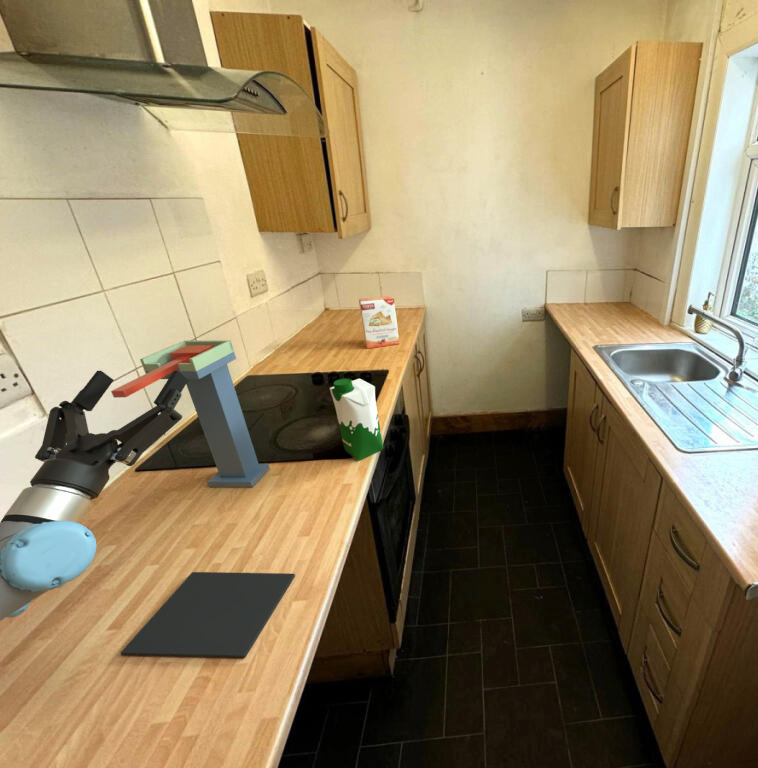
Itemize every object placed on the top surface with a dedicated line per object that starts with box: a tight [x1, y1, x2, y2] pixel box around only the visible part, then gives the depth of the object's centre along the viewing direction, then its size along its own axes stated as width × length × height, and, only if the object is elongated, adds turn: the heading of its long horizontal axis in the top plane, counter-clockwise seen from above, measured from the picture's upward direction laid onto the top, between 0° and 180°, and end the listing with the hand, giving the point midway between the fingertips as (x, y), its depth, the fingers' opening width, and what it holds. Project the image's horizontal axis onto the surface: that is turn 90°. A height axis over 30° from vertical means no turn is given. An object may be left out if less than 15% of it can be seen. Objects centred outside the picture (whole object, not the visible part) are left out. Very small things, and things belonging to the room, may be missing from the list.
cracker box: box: [358, 295, 400, 349], centre depth 180 cm, size 14×6×21 cm, turn 115°
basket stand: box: [139, 339, 271, 489], centre depth 88 cm, size 10×11×32 cm
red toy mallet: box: [110, 345, 214, 399], centre depth 77 cm, size 6×21×2 cm, turn 2°
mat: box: [120, 571, 296, 659], centre depth 65 cm, size 18×14×1 cm
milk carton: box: [329, 378, 384, 462], centre depth 103 cm, size 9×9×20 cm
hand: (143, 375), depth 72 cm, fingers open, 13 cm apart
